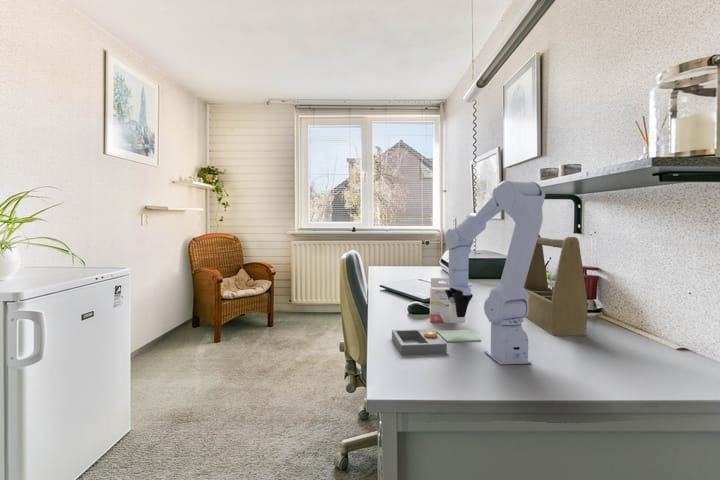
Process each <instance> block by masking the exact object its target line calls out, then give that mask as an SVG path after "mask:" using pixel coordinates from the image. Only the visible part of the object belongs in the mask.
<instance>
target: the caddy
mask: <svg viewBox="0 0 720 480" xmlns="http://www.w3.org/2000/svg"><path fill="white" fill-rule="evenodd" d="M543 246H546V247H552V248H558V249H561V251H560V255H559V261H558V265H557V266H558V267H557V269H556V275H555V281H554V285H553V288H551V287H549V283H548V275H547V268H546V261H545V255H544V247H543ZM583 267H584V266H583V260H582V254H581V247H580V241H579V239H578V237H575V236H567V237H565V238H564V239H559V238H557V239H553V238H547V237H541V235H540V234H539V235H538V239H537V242H536V246H535V249H534V253H533V256H532V260H531V264H530V267H529V271H528V274H527V278H526V281H525V285H524V288H523V289H524V290H525V291H526V292H527V293H528V294H529V296H530V297H529V301H528V305H529V312H528V315H527V316H526V317H525V319H527V320H529V321H530V322H532V323H533V324H535V325H536V326H538V327H540V328H541V329H542V330H544V331H545V332H547V333H548V334H550V335H551V336H567V337H568V336H570V337H571V336H572V337H574V336H575V337H577V336H578V337H579V336H583V337H584V336H587V333H588V332H587V329H588V327H587V326H588V325H587V324H588V310H589V305H588V296H587V289H586V281H585V274H584V268H583Z"/></svg>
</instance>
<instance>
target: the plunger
mask: <svg viewBox="0 0 720 480" xmlns="http://www.w3.org/2000/svg"><path fill="white" fill-rule="evenodd" d="M437 335H438V333H437V331H434V332H425V333H424V336H425V337H426V338H437Z"/></svg>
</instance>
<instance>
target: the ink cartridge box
mask: <svg viewBox="0 0 720 480" xmlns="http://www.w3.org/2000/svg"><path fill="white" fill-rule="evenodd" d="M447 281H449V277H448V278H447V277H432V278H430V287H429V288H430V289H429V290H430V291H429V320H430V323H437V324H438V323H439V324H443V323H444V324H452V323H451V322H450V313H449V299H448V296H447V294H446V292H445V290H446V289H450V287H447ZM441 282H443V283H441Z"/></svg>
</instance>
